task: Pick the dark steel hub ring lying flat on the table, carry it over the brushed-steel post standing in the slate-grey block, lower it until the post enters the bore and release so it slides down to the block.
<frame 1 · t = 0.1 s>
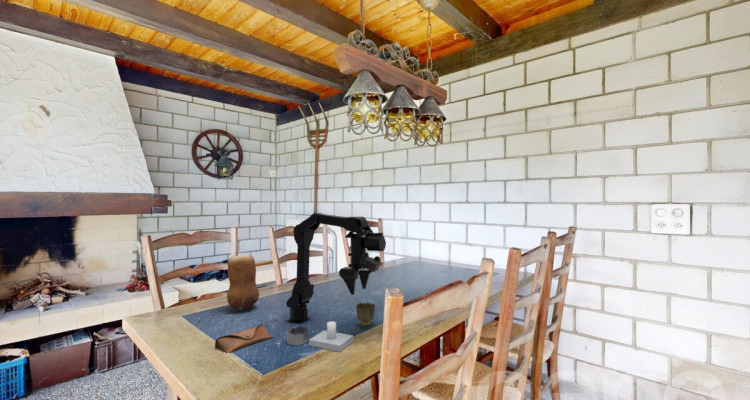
hand: (358, 291, 124), 15 cm above the table, fingers open, 9 cm apart
hub ring: (297, 341, 115), on the table
butternut squash: (243, 310, 151), on the table
cup: (365, 325, 130), on the table
shaft block: (331, 343, 113), on the table
sunglasses case: (246, 344, 115), on the table
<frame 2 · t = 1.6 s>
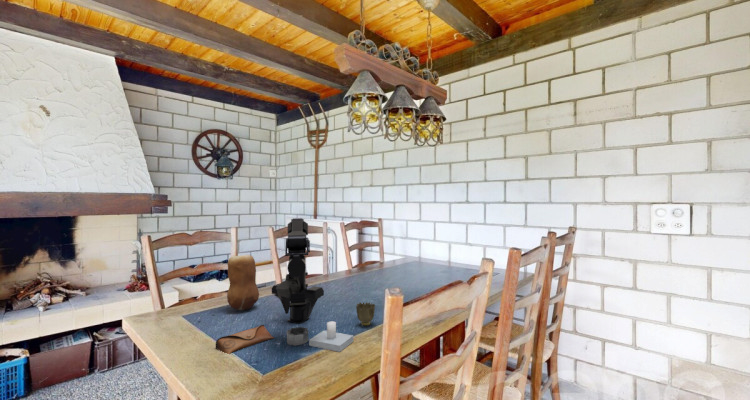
hand: (297, 315, 116), 9 cm above the table, fingers open, 9 cm apart
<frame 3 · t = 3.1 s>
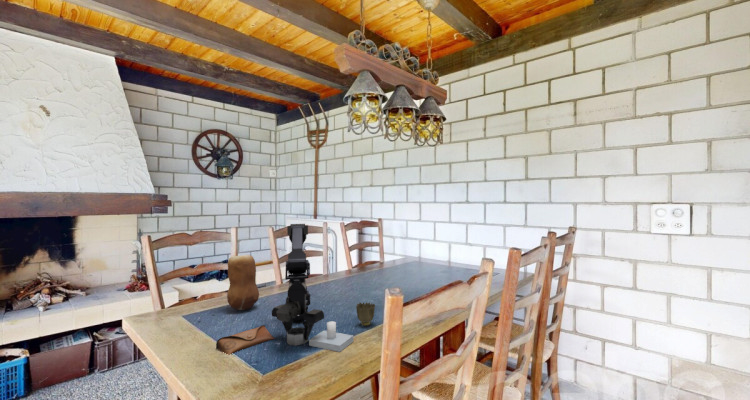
hand: (297, 338, 115), 1 cm above the table, fingers closed on hub ring, 7 cm apart
hub ring: (297, 341, 115), on the table, touching gripper
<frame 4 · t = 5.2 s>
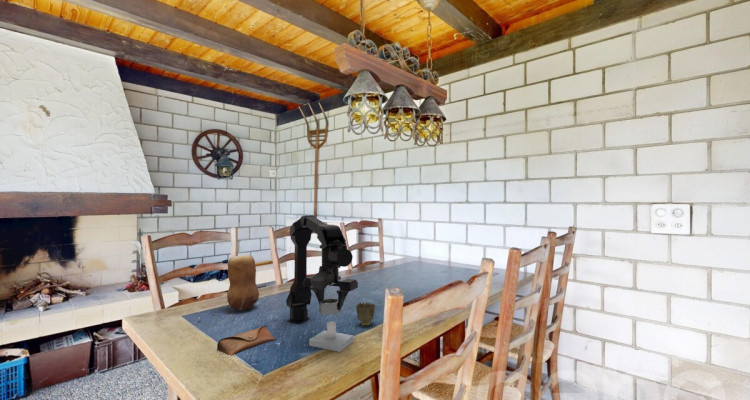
hand: (330, 308, 113), 12 cm above the table, fingers closed on hub ring, 7 cm apart
hub ring: (330, 311, 113), point 11 cm above the table, touching gripper
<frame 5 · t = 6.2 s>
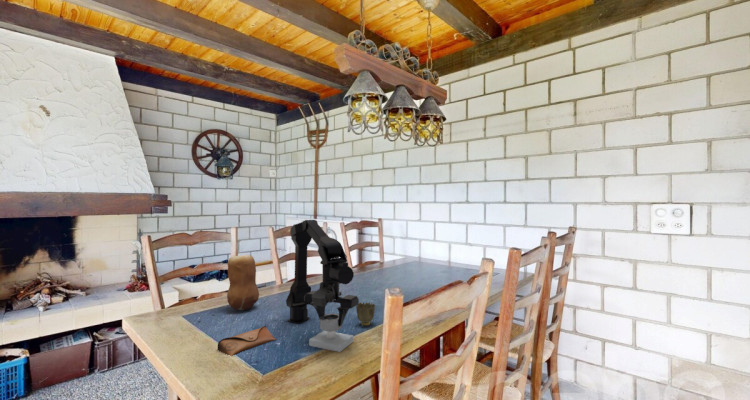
hand: (331, 324, 113), 6 cm above the table, fingers closed on hub ring, 7 cm apart
hub ring: (331, 327, 113), point 5 cm above the table, touching gripper
when the fingers open (6 cm above the table, at t = 7.1 s): hub ring drops 3 cm, resting on shaft block.
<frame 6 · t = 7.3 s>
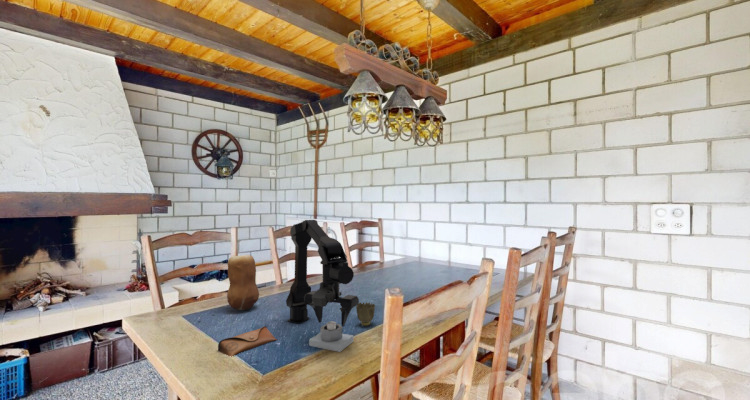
hand: (331, 324, 113), 6 cm above the table, fingers open, 9 cm apart
hub ring: (331, 337, 113), point 2 cm above the table, touching shaft block
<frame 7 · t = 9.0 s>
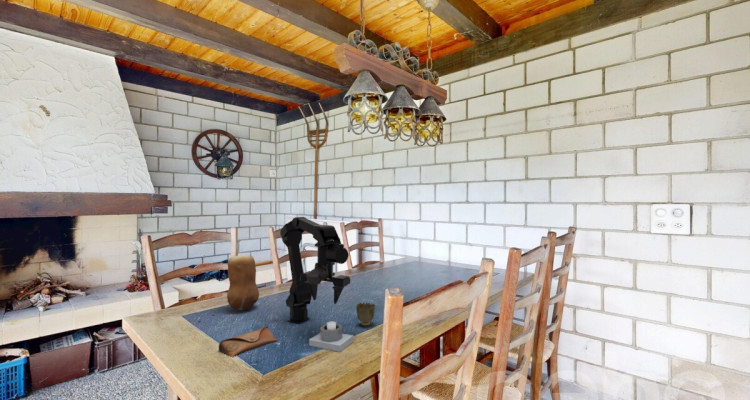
hand: (324, 301, 123), 11 cm above the table, fingers open, 9 cm apart
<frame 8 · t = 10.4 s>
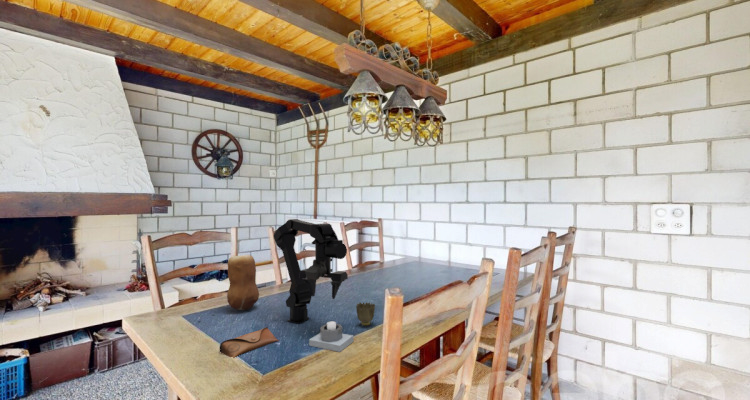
hand: (323, 297, 127), 12 cm above the table, fingers open, 9 cm apart
at the end: hub ring 0.1 cm off-centre on the shaft block, point 2.0 cm above the shaft block's base; the gripper is holding nothing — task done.
